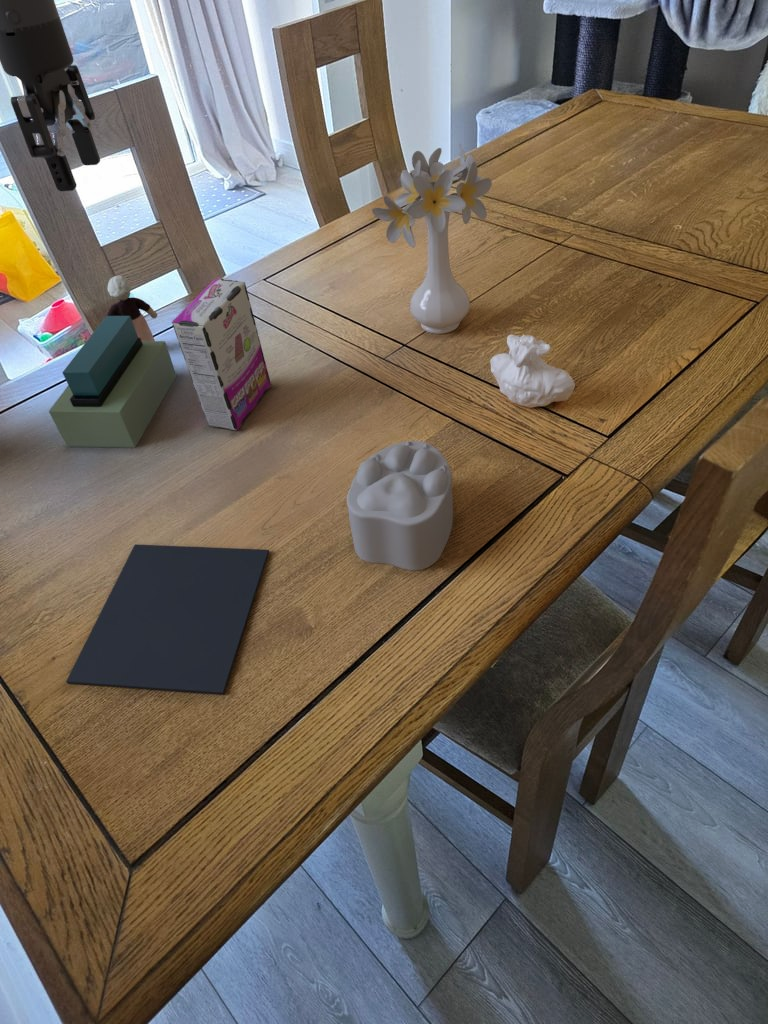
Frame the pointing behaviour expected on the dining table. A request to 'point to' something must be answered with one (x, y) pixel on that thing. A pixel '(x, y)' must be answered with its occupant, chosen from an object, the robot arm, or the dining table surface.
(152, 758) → the dining table surface
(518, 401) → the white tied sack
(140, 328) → the grandmother figurine
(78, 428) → the stand
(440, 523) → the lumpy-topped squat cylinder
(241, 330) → the candy bar box
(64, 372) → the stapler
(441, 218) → the flower vase
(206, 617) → the mat
